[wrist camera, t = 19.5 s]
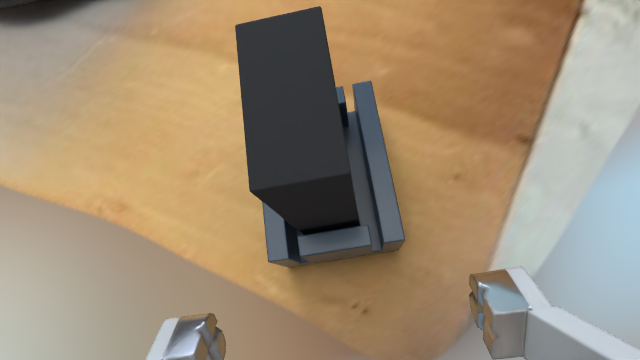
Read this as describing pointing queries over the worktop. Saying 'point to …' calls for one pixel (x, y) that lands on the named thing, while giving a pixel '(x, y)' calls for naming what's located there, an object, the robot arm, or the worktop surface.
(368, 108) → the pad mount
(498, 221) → the worktop surface
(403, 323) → the worktop surface
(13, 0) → the casserole
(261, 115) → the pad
